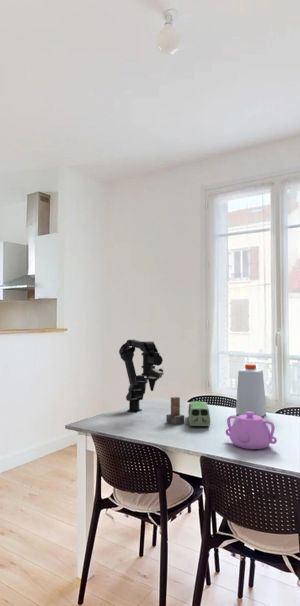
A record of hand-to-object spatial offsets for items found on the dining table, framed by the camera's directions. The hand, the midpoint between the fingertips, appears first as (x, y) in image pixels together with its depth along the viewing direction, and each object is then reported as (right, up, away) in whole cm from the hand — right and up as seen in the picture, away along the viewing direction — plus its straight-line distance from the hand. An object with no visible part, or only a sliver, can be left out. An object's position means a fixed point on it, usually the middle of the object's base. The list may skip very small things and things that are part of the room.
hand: (148, 392), depth 209 cm
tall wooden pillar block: (+14, -12, -15) cm, 24 cm away
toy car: (+27, -13, -14) cm, 32 cm away
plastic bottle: (+58, -14, +4) cm, 60 cm away
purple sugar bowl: (+42, -10, -53) cm, 68 cm away
